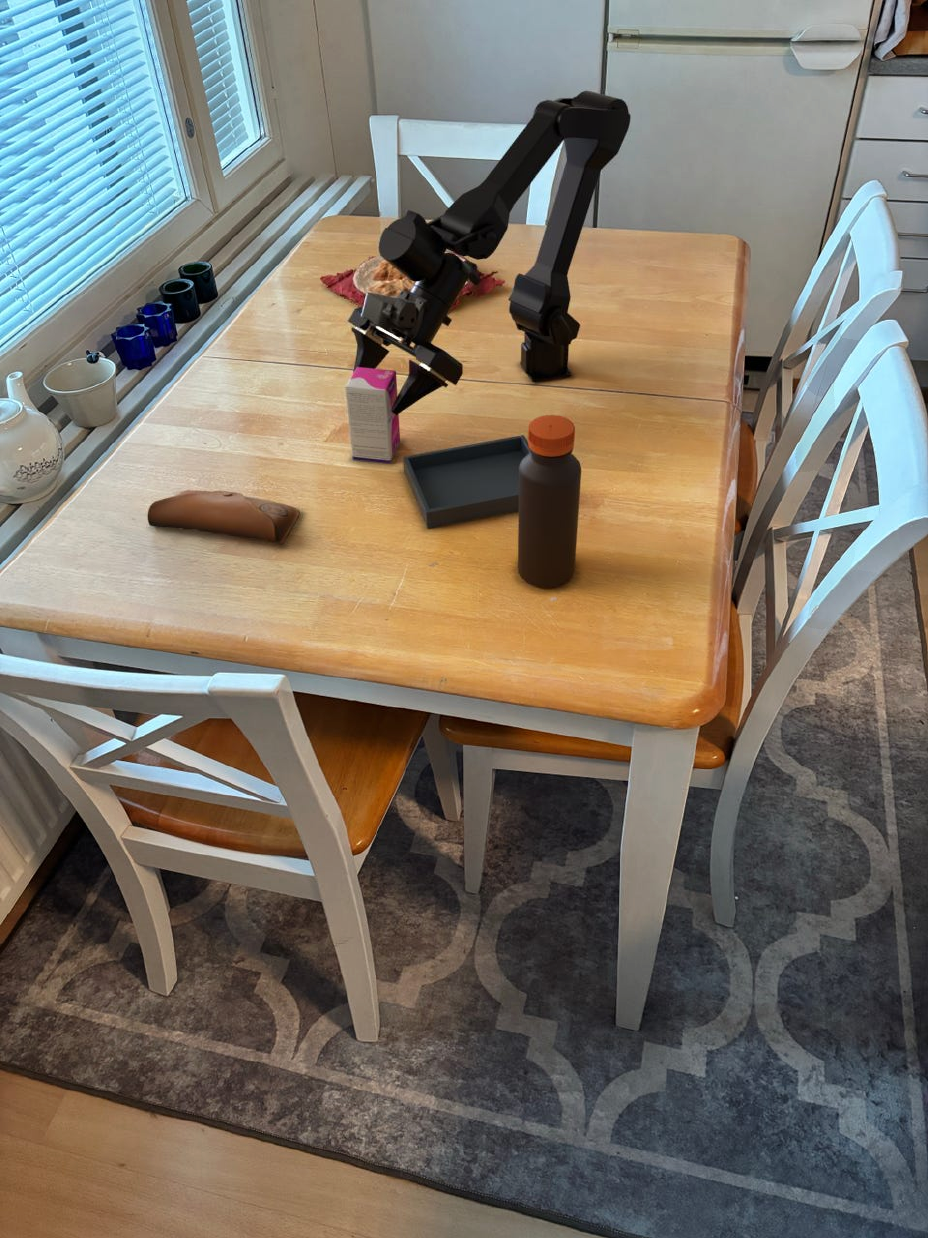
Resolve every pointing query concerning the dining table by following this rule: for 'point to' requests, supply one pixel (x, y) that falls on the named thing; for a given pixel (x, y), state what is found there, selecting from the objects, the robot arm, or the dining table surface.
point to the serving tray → (467, 480)
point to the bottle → (548, 503)
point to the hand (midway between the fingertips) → (373, 400)
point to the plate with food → (391, 281)
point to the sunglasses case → (225, 515)
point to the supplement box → (372, 414)
